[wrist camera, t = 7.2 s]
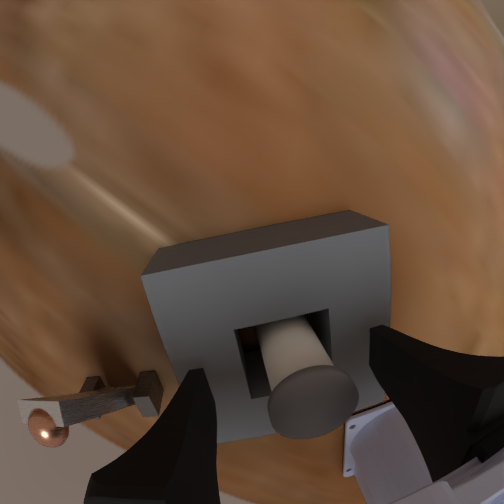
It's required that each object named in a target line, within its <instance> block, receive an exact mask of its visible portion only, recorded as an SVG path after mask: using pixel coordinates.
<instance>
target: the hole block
mask: <svg viewBox="0 0 504 504" xmlns="http://www.w3.org/2000/svg"><path fill="white" fill-rule="evenodd" d="M141 279H142V282H143V285H144V289H145V292H146V295H147V298H148V301H149V304H150V307H151V310H152V313H153V316H154V319H155V322H156V325H157V328H158V331H159V333H160V336H161V339H162V342H163V344H164V347H165V350H166V352H167V355H168V358H169V360H170V363H171V365H172V368H173V370H174V373H175V375H176V378H177V380H178V383H179V385H181V383H182V381H183V379H184V377H185V375H186V374H187V372H188V371H189V370H192V369H198V368H203V369H204V372H205V375H206V378H207V380H208V383H209V386H210V389H211V392H212V394H213V397H214V400H215V404H216V413H217V443H224V442H231V441H237V440H243V439H249V438H255V437H260V436H265V435H270V434H274V433H277V432H276V431H275V430H274V428H273V427H272V425H271V422H270V418H269V414H268V409H267V403H268V399H269V396H270V394H271V392H272V391H271V387H270V384H269V380H268V376H267V372H266V368H265V364H264V361H263V357H262V353H261V350H258V351H253V352H248V353H244V352H243V348H242V343H241V339H240V335H239V331H238V329H241V328H245V327H250V326H255V325H260V324H264V323H269V322H273V321H278V320H282V319H287V318H291V317H295V316H299V315H304V314H309V323H310V325H311V327H312V329H313V330H314V332H315V334H316V336H317V337H318V339H319V341H320V342H321V344H322V346H323V348H324V349H325V351H326V353H327V354H328V356H329V358H330V360H331V361H332V363H333V365H334V366H335V367H338V368H341V369H343V370H344V371H346V372H347V373H348V374H349V376H350V377H351V379H352V381H353V382H354V384H355V385H356V387H357V389H358V393H359V400H358V404H357V407H356V409H355V411H358V410H361V409H364V408H366V407H369V406H372V405H375V404H377V403H380V402H383V401H384V395H385V391H384V390H383V389H382V387H381V386H380V384H379V383H378V381H377V380H376V378H375V376H374V374H373V372H372V370H371V368H370V366H369V341H370V328H372V327H375V326H379V325H385V326H387V327H390V312H391V263H390V237H389V225H388V224H385V223H383V222H380V221H378V220H375V219H372V218H370V217H367V216H364V215H362V214H359V213H356V212H353V211H351V210H349V211H344V212H338V213H333V214H328V215H322V216H317V217H312V218H306V219H301V220H296V221H291V222H286V223H280V224H275V225H270V226H265V227H260V228H255V229H250V230H245V231H240V232H235V233H230V234H226V235H221V236H216V237H211V238H206V239H201V240H197V241H192V242H187V243H183V244H178V245H173V246H169V247H164V248H159V249H158V251H157V252H156V254H155V255H154V257H153V258H152V259H151V261H150V262H149V264H148V265H147V267H146V268H145V270H144V271H143V273H142V274H141ZM355 411H354V412H355Z"/></svg>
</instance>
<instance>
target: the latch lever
mask: <svg viewBox="0 0 504 504" xmlns="http://www.w3.org/2000/svg"><path fill="white" fill-rule="evenodd" d="M135 388H136V385H132V386H121V387H107V388H100V390H95V391H89V392H82V393H75V394H68V395H60V396H52V397H43V398H33V399H23V400H18V405H19V410H20V415H21V419H22V423H24V424H28V428H29V431H30V433H31V435H32V436H33V438H34V439H35V440H36V441H37V442H38V443H40V444H41V445H43V446H46V447H50V448H55V447H59V446H61V445H62V444H64V443H65V441H66V440H67V438H68V435H69V425H73V424H76V423H80V422H83V421H86V420H89V419H93V418H96V417H99V416H102V415H105V414H108V413H111V412H114V411H117V410H120V409H123V408H125V407H128V406H131V405H136V403H135V401H134V400H133V395H134V391H135Z"/></svg>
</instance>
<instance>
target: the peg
mask: <svg viewBox="0 0 504 504" xmlns="http://www.w3.org/2000/svg"><path fill="white" fill-rule="evenodd" d="M255 329H256V333H257V337H258V341H259V345H260V349H261V353H262V357H263V361H264V364H265V368H266V372H267V376H268V380H269V384H270V387H271V391H272V392H271V394H270V396H269V399H268V403H267V409H268V414H269V418H270V422H271V425H272V427H273V428H274V430H275V431H276V432H277V433H279V434H280V435H282V436H285V437H288V438H292V439H310V438H315V437H319V436H322V435H325V434H327V433H329V432H331V431H333V430H335V429H337V428H338V427H339V426H341V425H342V424H343V423H345V422H346V421H347V420H348V419H349V418H350V416H351V415H352V414H353V412H354V411H355V409H356V407H357V404H358V400H359V393H358V389H357V387H356V385H355V384H354V382H353V381H352V379H351V377H350V376H349V374H348V373H347V372H346V371H344V370H343V369H341V368H338V367H335V366H334V365H333V363H332V361H331V360H330V358H329V356H328V354H327V353H326V351H325V349H324V348H323V346H322V344H321V342H320V341H319V339H318V337H317V336H316V334H315V332H314V330H313V329H312V327H311V325H310V324H309V322H308V320H307V318H306V317H305V315H299V316H295V317H291V318H287V319H282V320H278V321H273V322H269V323H264V324H260V325H255Z"/></svg>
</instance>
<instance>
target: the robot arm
mask: <svg viewBox="0 0 504 504" xmlns="http://www.w3.org/2000/svg"><path fill="white" fill-rule="evenodd" d="M369 366H370V368H371V370H372V372H373V374H374V376H375V378H376V380H377V381H378V383H379V384H380V386H381V387H382V389H383V390H384V391H385V393H386V394H387V396H388V397H389V398H390V400H391V402H389V403H386V404H384V405H381V406H378V407H376V408H373V409H370V410H367V411H365V412H362V413H359V414H356V415H353V416H350V418H349V419H348V420H347V421H346V422H345V439H344V459H343V476H344V477H350V476H353V475H354V476H355V478H356V480H357V483H358V485H359V487H360V490H361V492H362V494H363V496H364V499H365V501H366V503H367V504H504V357H490V356H477V355H470V354H463V353H458V352H454V351H450V350H446V349H442V348H439V347H436V346H433V345H430V344H427V343H425V342H422V341H420V340H417V339H415V338H412V337H410V336H408V335H406V334H403V333H401V332H399V331H396V330H394V329H392V328H390V327H387V326H385V325H379V326H375V327H372V328H370V341H369ZM216 454H217V413H216V404H215V400H214V397H213V394H212V392H211V389H210V386H209V383H208V380H207V378H206V375H205V372H204V369H203V368H198V369H192V370H189V371H188V372H187V374H186V375H185V377H184V379H183V381H182V383H181V385H180V386H179V388H178V390H177V392H176V393H175V395H174V397H173V398H172V400H171V401H170V403H169V405H168V406H167V408H166V409H165V410H164V412H163V413H162V415H161V416H160V417H159V419H158V420H157V421H156V423H155V424H154V425H153V426H152V427H151V429H150V430H149V431H148V432H147V433H146V434H145V435H144V436H143V437H142V438H141V439H140V440H139V441H138V442H137V443H136V444H134V445H133V446H132V447H131V448H130V449H129V450H127V451H126V452H125V453H124V454H122V455H121V456H120V457H118V458H117V459H116V460H114V461H113V462H111V463H109V464H108V465H106V466H104V467H103V468H101V469H100V470H98V471H96V472H94V473H92V475H91V477H90V480H89V483H88V487H87V490H86V494H85V498H84V504H220V497H219V490H218V481H217V470H216Z"/></svg>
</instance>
